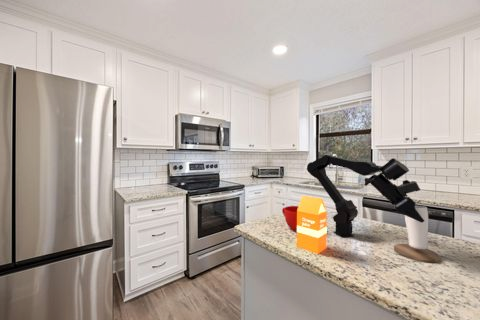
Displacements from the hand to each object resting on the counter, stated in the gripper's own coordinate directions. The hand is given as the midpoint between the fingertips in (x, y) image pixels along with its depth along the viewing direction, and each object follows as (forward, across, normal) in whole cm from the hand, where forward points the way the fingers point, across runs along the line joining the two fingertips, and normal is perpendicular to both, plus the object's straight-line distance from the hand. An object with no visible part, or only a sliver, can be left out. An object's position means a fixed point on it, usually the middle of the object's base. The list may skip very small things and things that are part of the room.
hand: (420, 219), depth 76 cm
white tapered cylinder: (+7, 0, +8) cm, 11 cm away
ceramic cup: (-24, +3, +44) cm, 50 cm away
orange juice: (-16, -16, +35) cm, 41 cm away
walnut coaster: (+8, -1, +10) cm, 13 cm away
